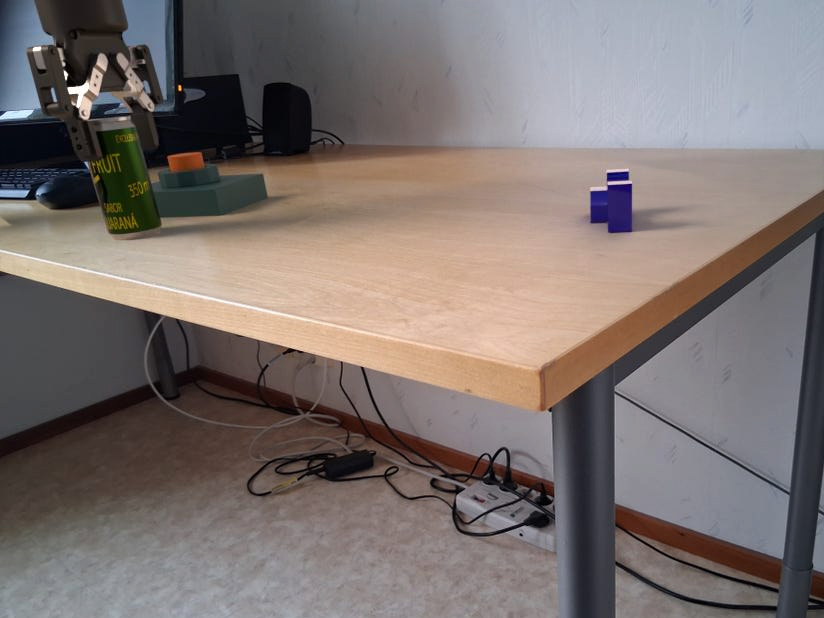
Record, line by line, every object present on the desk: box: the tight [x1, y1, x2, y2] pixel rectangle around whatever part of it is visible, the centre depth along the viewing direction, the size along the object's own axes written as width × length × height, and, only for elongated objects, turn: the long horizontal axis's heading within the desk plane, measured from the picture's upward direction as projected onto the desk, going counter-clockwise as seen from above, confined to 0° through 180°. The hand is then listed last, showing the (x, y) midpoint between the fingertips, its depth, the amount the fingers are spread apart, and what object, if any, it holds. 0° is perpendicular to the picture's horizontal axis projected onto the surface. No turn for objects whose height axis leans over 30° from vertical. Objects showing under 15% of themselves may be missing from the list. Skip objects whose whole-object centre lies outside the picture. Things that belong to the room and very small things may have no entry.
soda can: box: [86, 115, 163, 241], centre depth 73 cm, size 5×5×12 cm
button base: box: [151, 163, 269, 219], centre depth 88 cm, size 14×11×5 cm
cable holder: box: [589, 168, 633, 233], centre depth 62 cm, size 8×4×4 cm, turn 171°
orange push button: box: [166, 151, 205, 171], centre depth 86 cm, size 4×4×2 cm
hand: (122, 155), depth 72 cm, fingers open, 8 cm apart
